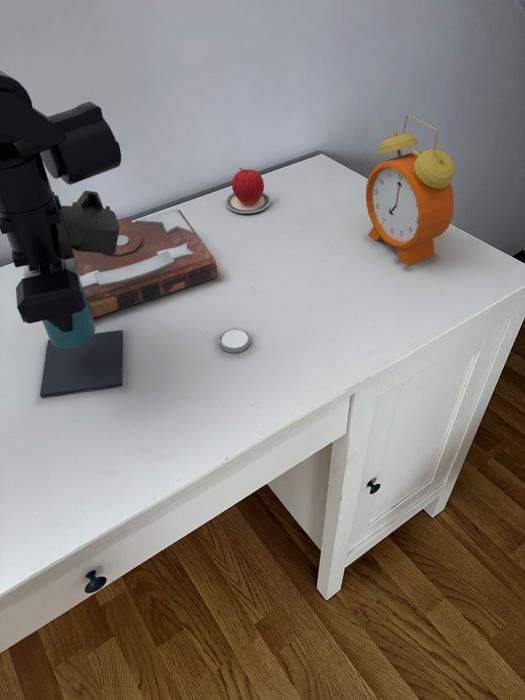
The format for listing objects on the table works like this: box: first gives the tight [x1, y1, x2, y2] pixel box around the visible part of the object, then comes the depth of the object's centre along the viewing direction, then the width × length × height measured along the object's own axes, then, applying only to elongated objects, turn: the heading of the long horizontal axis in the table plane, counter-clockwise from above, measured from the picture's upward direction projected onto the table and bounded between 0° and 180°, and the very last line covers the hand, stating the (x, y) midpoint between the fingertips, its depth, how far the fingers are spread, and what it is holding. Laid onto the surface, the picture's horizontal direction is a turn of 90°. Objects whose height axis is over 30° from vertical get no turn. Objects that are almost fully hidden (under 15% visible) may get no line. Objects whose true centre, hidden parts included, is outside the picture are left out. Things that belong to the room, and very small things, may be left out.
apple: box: [224, 167, 271, 214], centre depth 99 cm, size 8×8×6 cm
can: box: [23, 258, 96, 349], centre depth 67 cm, size 6×6×10 cm
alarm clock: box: [365, 114, 456, 267], centre depth 84 cm, size 13×6×20 cm, turn 30°
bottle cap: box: [219, 328, 251, 353], centre depth 76 cm, size 4×4×1 cm
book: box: [72, 208, 218, 319], centre depth 85 cm, size 23×16×5 cm
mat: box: [39, 329, 124, 399], centre depth 74 cm, size 10×10×1 cm
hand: (65, 315), depth 68 cm, fingers closed on can, 5 cm apart
